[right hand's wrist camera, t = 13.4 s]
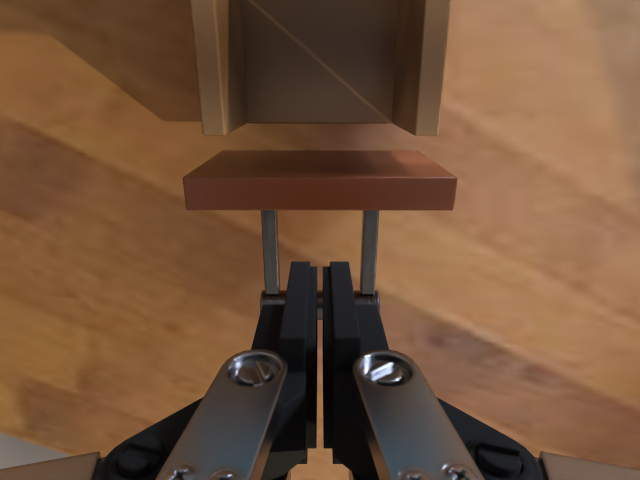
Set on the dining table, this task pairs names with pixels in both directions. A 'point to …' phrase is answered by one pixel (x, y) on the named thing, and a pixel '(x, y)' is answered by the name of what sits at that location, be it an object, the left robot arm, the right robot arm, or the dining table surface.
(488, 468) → the right robot arm
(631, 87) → the dining table surface
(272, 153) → the drawer
